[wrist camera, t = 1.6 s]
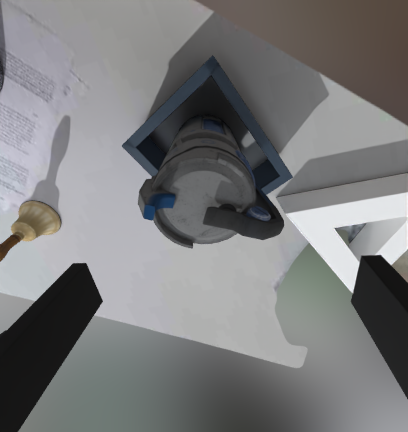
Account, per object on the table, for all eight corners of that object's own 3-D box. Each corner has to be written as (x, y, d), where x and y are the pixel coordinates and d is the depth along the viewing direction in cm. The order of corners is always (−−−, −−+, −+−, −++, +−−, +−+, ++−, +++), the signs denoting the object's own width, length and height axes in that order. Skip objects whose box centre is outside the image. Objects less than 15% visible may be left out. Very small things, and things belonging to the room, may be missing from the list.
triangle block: (342, 277, 56) (356, 298, 51) (245, 252, 52) (250, 272, 47) (442, 166, 41) (478, 179, 36) (317, 119, 37) (336, 127, 32)
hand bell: (10, 209, 47) (-70, 263, 33) (39, 194, 45) (-33, 245, 31) (41, 238, 51) (-19, 297, 37) (69, 225, 49) (16, 282, 35)
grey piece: (236, 181, 43) (265, 282, 22) (167, 164, 42) (127, 256, 20) (255, 126, 38) (318, 190, 17) (177, 105, 36) (138, 145, 15)
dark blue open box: (137, 132, 39) (121, 145, 31) (211, 59, 33) (213, 55, 26) (207, 208, 46) (208, 233, 39) (277, 159, 41) (293, 177, 34)
